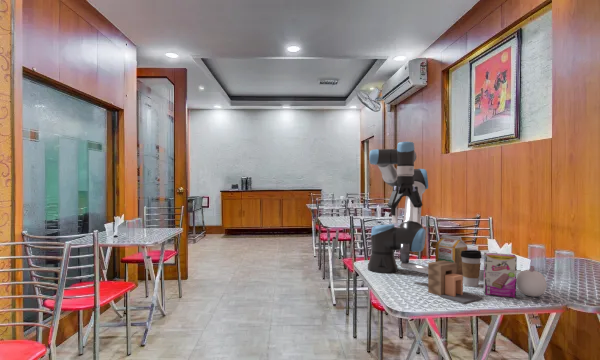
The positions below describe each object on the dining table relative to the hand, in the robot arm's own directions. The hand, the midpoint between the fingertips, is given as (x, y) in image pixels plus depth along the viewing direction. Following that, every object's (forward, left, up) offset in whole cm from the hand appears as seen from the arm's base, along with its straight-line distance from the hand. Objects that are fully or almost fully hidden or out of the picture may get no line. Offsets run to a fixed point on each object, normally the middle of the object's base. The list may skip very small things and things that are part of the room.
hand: (405, 222), depth 166 cm
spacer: (+25, 0, -22) cm, 34 cm away
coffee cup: (+19, +21, -27) cm, 39 cm away
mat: (+29, 0, -27) cm, 39 cm away
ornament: (+41, +27, -27) cm, 56 cm away
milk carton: (+2, +31, -27) cm, 41 cm away
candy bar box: (+34, +17, -27) cm, 47 cm away
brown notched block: (+20, 0, -27) cm, 34 cm away
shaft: (+9, 0, -21) cm, 23 cm away
